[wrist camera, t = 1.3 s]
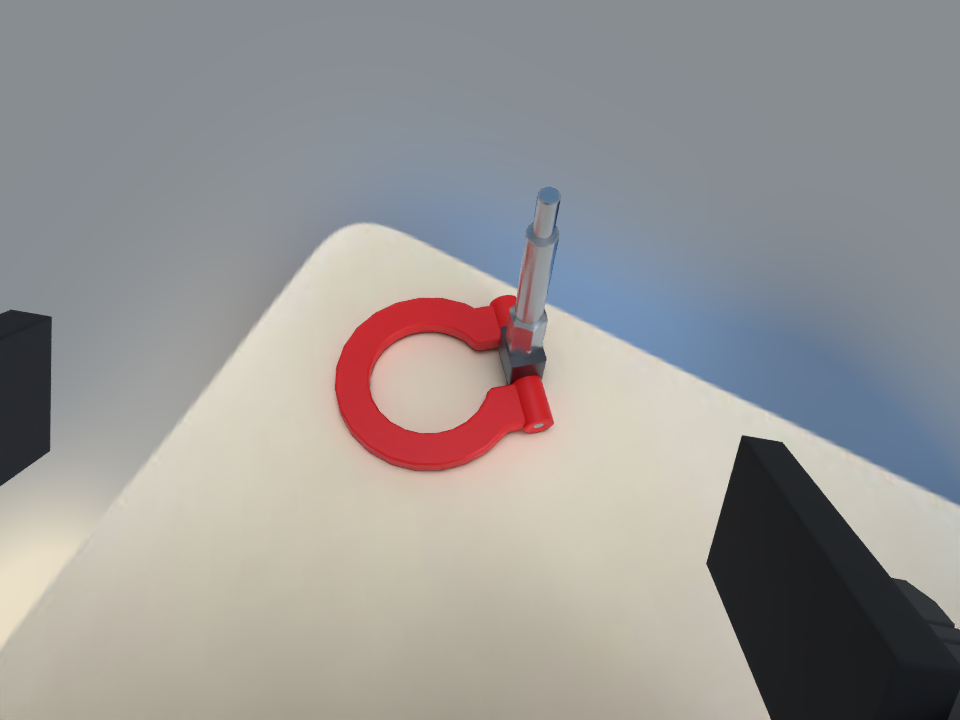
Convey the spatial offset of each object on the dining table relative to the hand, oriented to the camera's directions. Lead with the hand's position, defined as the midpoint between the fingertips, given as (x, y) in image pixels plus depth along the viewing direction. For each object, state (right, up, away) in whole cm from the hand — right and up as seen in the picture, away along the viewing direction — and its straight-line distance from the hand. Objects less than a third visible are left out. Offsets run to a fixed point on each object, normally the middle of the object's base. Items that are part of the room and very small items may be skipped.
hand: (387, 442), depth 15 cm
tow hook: (0, 0, +22) cm, 22 cm away
